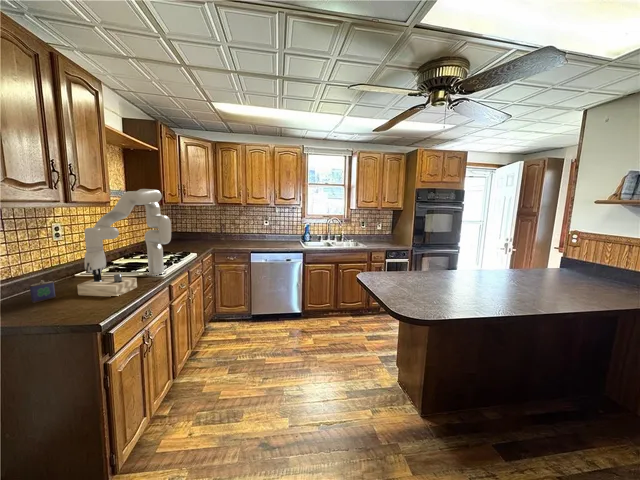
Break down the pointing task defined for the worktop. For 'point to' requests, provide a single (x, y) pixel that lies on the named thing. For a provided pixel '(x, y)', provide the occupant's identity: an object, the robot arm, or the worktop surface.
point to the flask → (42, 291)
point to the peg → (117, 278)
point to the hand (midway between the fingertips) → (97, 280)
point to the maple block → (107, 287)
